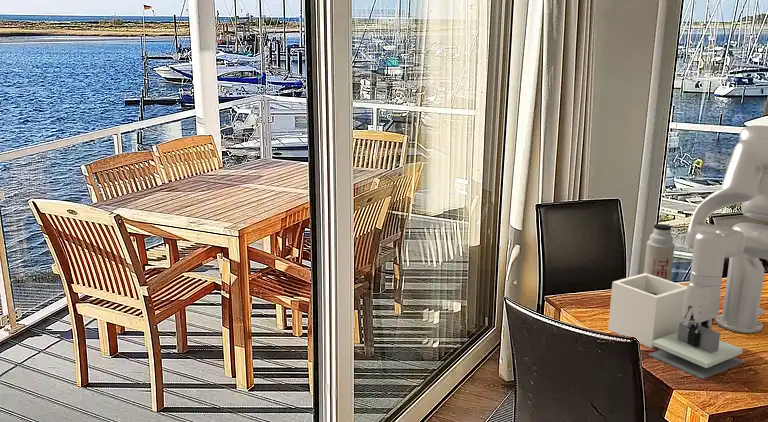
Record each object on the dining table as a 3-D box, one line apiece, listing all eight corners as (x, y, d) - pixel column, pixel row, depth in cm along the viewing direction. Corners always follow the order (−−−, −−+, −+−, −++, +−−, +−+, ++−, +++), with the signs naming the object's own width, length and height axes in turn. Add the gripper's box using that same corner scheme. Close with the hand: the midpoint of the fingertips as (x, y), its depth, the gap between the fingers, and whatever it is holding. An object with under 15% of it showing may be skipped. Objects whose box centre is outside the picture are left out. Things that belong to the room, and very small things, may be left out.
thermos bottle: (667, 316, 213) (676, 230, 206) (639, 313, 216) (648, 227, 209) (667, 307, 220) (676, 223, 214) (640, 304, 223) (649, 221, 217)
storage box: (640, 319, 211) (645, 273, 208) (684, 336, 199) (690, 287, 195) (608, 329, 203) (612, 281, 200) (651, 348, 191) (656, 297, 188)
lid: (687, 335, 195) (690, 311, 194) (742, 356, 182) (745, 331, 180) (651, 348, 187) (654, 323, 185) (705, 371, 174) (709, 345, 172)
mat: (689, 340, 196) (689, 339, 196) (743, 362, 183) (743, 360, 183) (648, 355, 187) (648, 353, 187) (702, 379, 174) (702, 377, 174)
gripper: (711, 269, 187) (703, 331, 191) (673, 280, 178) (666, 345, 183) (737, 277, 181) (728, 341, 185) (699, 288, 172) (691, 356, 177)
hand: (697, 342), depth 184 cm, fingers open, 3 cm apart
